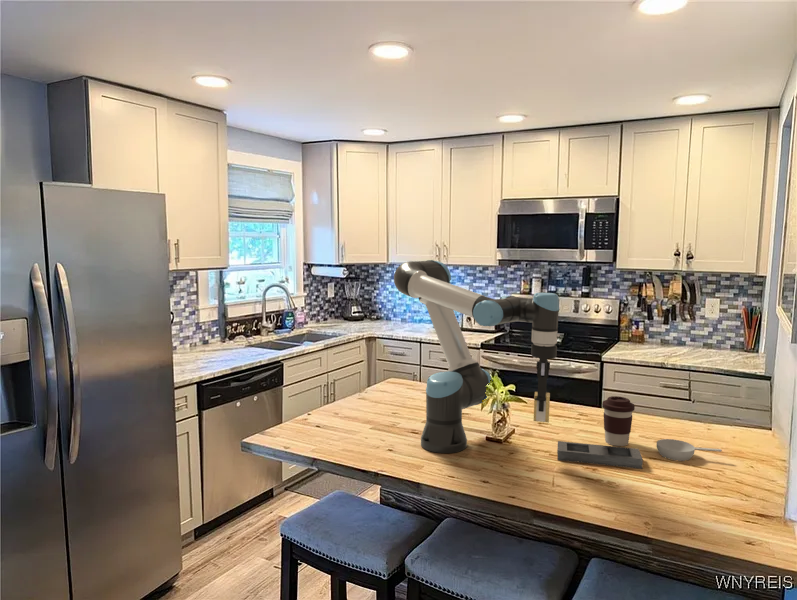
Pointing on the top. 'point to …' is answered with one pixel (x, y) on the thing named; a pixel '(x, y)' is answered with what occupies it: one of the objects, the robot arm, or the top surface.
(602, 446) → the gray slotted rack
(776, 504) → the top surface
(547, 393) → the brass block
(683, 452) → the small pan
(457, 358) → the robot arm
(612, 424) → the coffee cup
